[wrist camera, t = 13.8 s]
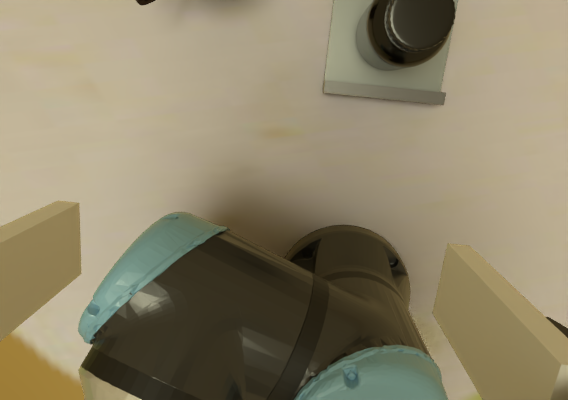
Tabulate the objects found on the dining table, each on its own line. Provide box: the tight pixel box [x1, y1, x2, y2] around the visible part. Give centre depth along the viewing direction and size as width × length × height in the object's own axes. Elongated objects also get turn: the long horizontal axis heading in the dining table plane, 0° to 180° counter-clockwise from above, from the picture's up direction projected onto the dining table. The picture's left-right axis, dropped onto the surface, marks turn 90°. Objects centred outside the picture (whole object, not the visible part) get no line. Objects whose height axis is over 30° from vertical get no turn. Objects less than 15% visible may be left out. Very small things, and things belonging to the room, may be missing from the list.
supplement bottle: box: [356, 0, 456, 71], centre depth 36 cm, size 7×7×12 cm
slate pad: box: [323, 0, 458, 105], centre depth 41 cm, size 12×12×2 cm
